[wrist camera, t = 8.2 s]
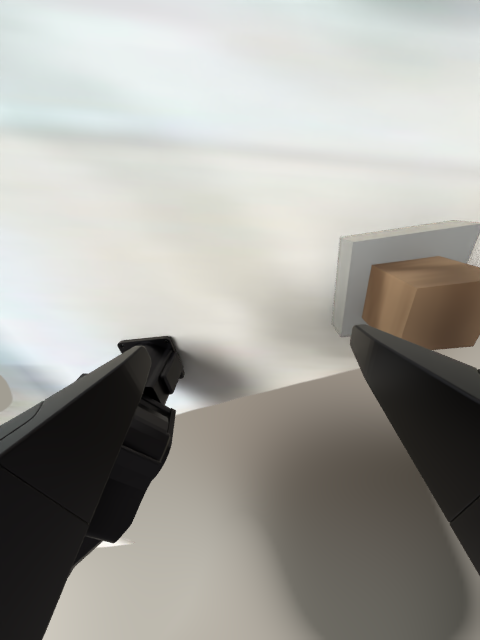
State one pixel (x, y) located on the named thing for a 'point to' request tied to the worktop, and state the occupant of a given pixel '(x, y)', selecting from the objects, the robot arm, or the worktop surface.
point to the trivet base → (391, 260)
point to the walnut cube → (425, 301)
